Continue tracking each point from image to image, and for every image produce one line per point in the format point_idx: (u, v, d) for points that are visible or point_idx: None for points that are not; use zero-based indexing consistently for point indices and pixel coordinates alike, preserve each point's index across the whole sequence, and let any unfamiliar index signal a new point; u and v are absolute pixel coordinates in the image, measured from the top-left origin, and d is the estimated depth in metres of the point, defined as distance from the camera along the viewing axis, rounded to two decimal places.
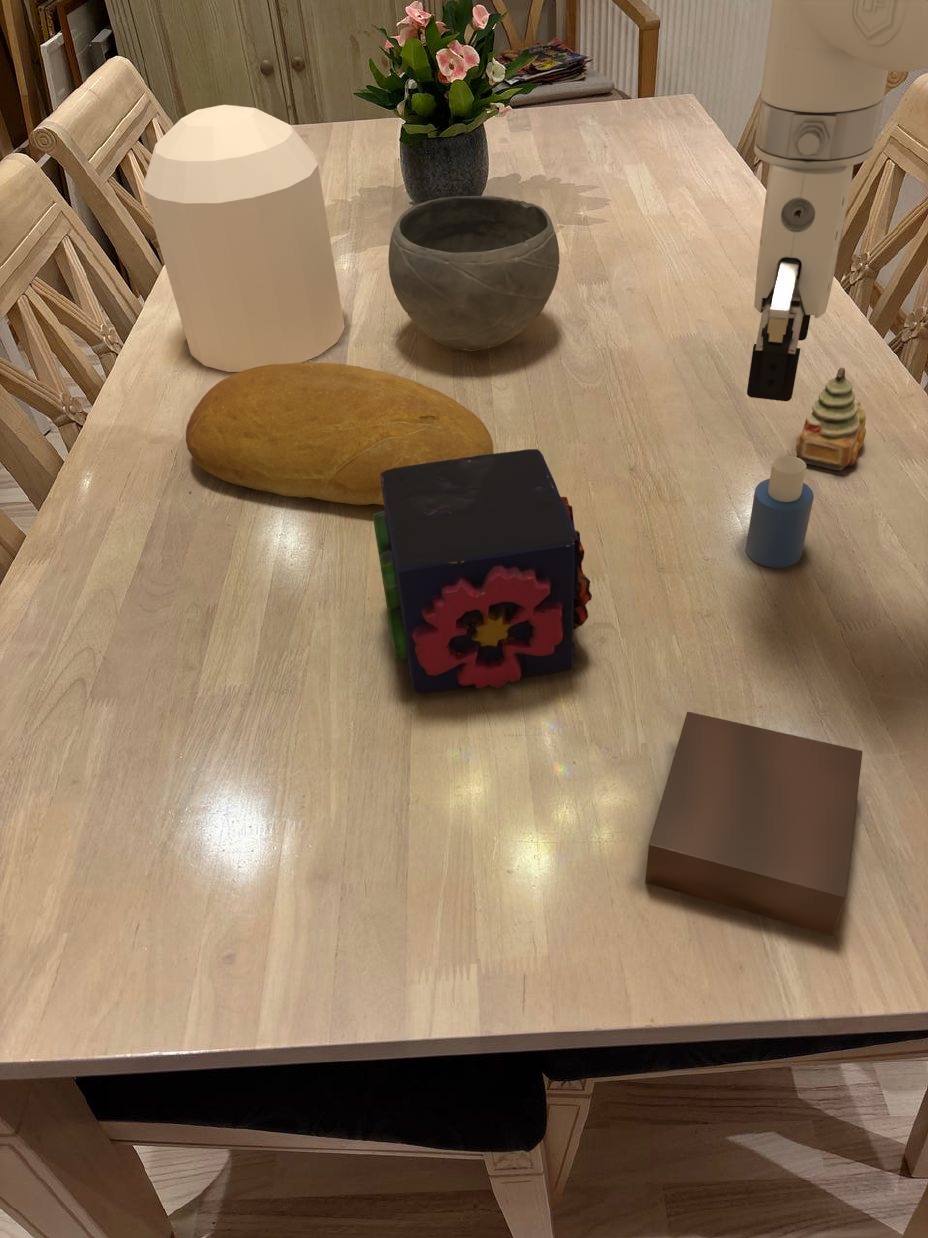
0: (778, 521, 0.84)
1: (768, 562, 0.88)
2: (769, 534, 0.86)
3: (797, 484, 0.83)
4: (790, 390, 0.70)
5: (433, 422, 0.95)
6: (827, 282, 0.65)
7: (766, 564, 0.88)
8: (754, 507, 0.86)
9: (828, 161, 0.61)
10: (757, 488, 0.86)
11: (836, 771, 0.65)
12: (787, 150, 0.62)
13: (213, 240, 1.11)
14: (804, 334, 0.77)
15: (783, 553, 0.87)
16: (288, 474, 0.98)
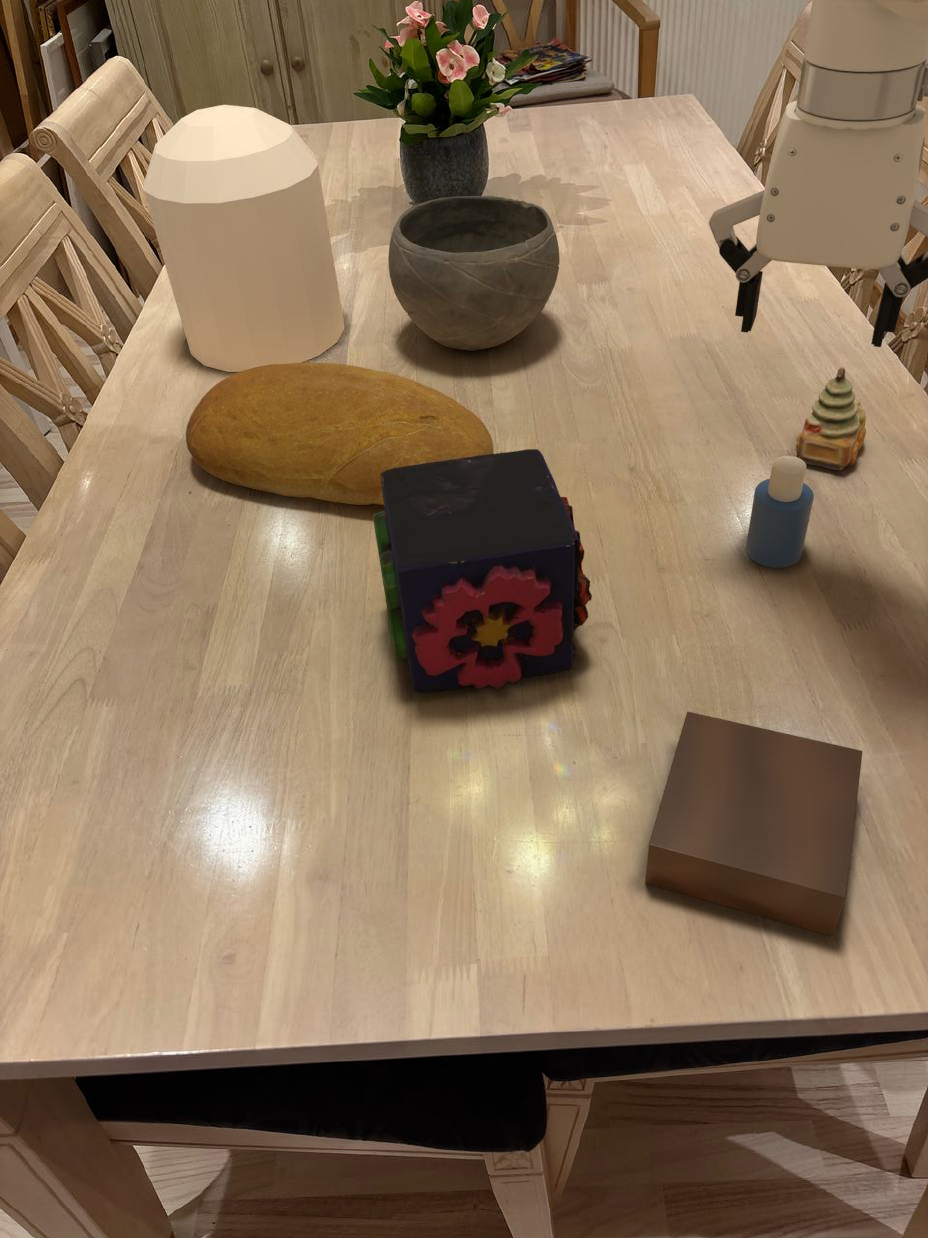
0: (778, 521, 0.84)
1: (768, 562, 0.88)
2: (769, 534, 0.86)
3: (797, 484, 0.83)
4: None
5: (433, 422, 0.95)
6: None
7: (766, 564, 0.88)
8: (754, 507, 0.86)
9: None
10: (757, 488, 0.86)
11: (836, 771, 0.65)
12: (914, 103, 0.62)
13: (213, 240, 1.11)
14: (756, 310, 0.77)
15: (783, 553, 0.87)
16: (288, 474, 0.98)
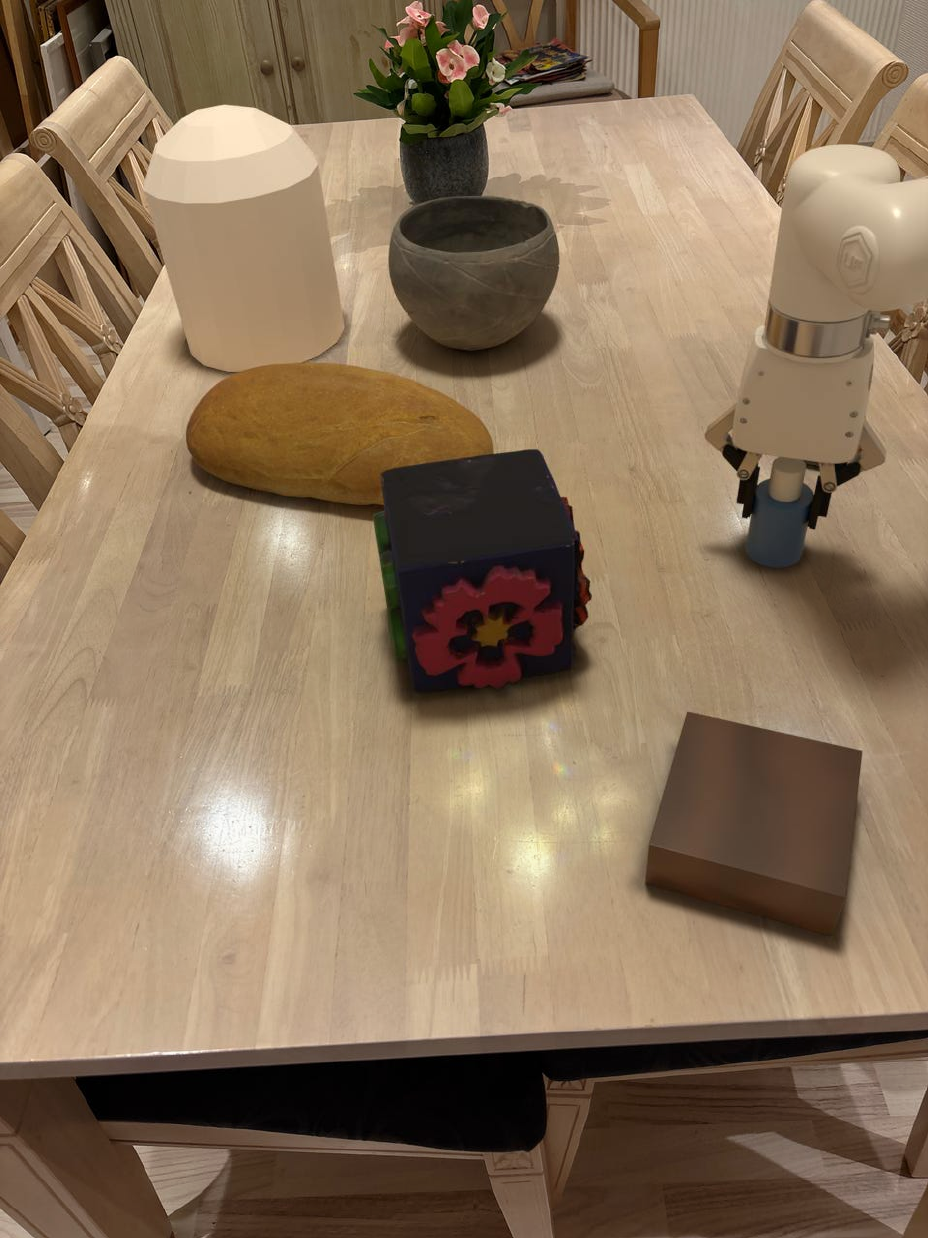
0: (778, 521, 0.84)
1: (768, 562, 0.88)
2: (769, 534, 0.86)
3: (797, 484, 0.83)
4: None
5: (433, 422, 0.95)
6: None
7: (766, 564, 0.88)
8: (754, 507, 0.86)
9: None
10: (757, 488, 0.86)
11: (836, 771, 0.65)
12: (862, 341, 0.73)
13: (213, 240, 1.11)
14: None
15: (783, 553, 0.87)
16: (288, 474, 0.98)
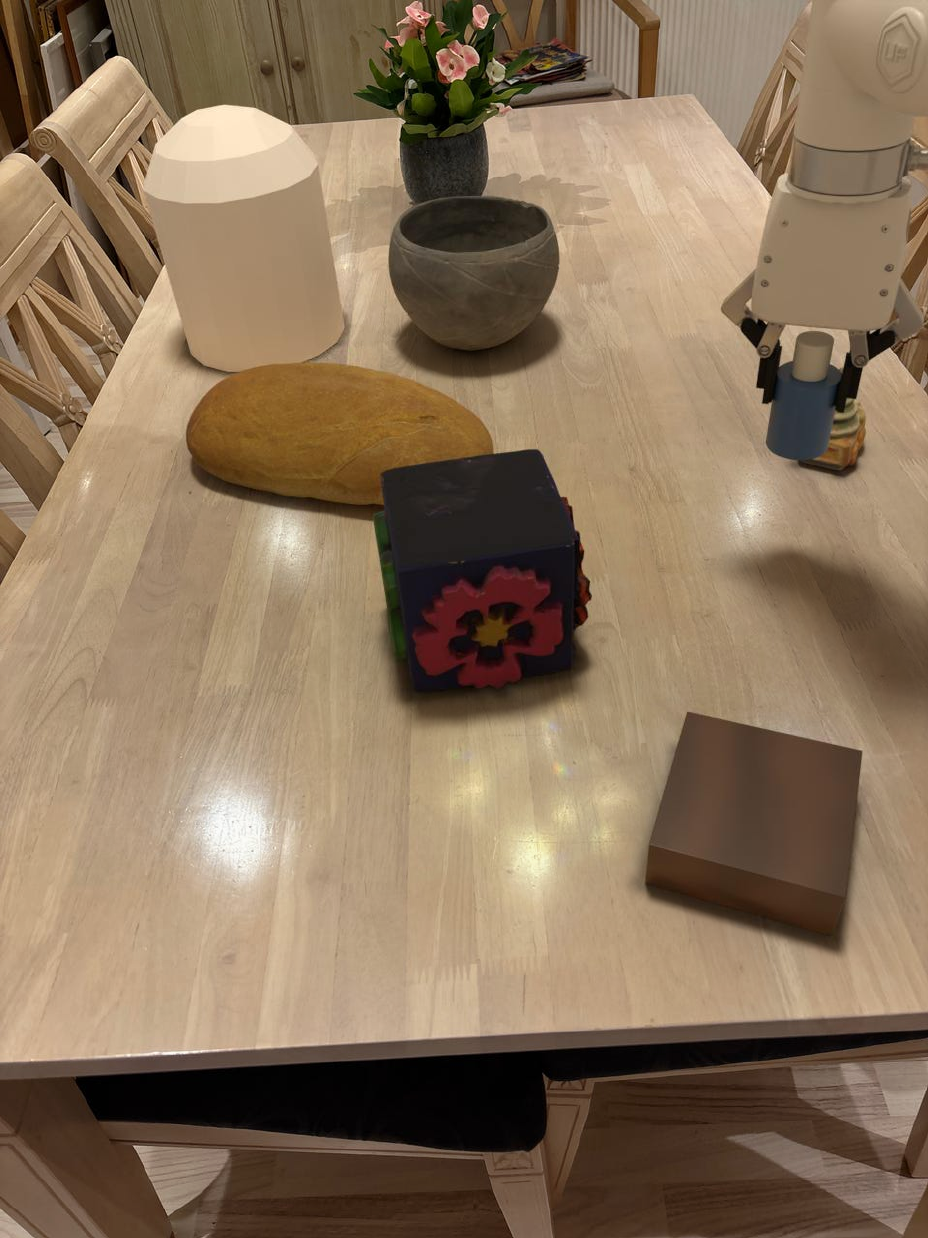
0: (802, 403, 0.76)
1: (791, 454, 0.79)
2: (793, 419, 0.77)
3: (824, 360, 0.75)
4: None
5: (433, 422, 0.95)
6: None
7: (789, 456, 0.80)
8: (776, 391, 0.78)
9: None
10: (779, 370, 0.78)
11: (836, 771, 0.65)
12: (899, 177, 0.65)
13: (213, 240, 1.11)
14: None
15: (807, 442, 0.78)
16: (288, 474, 0.98)
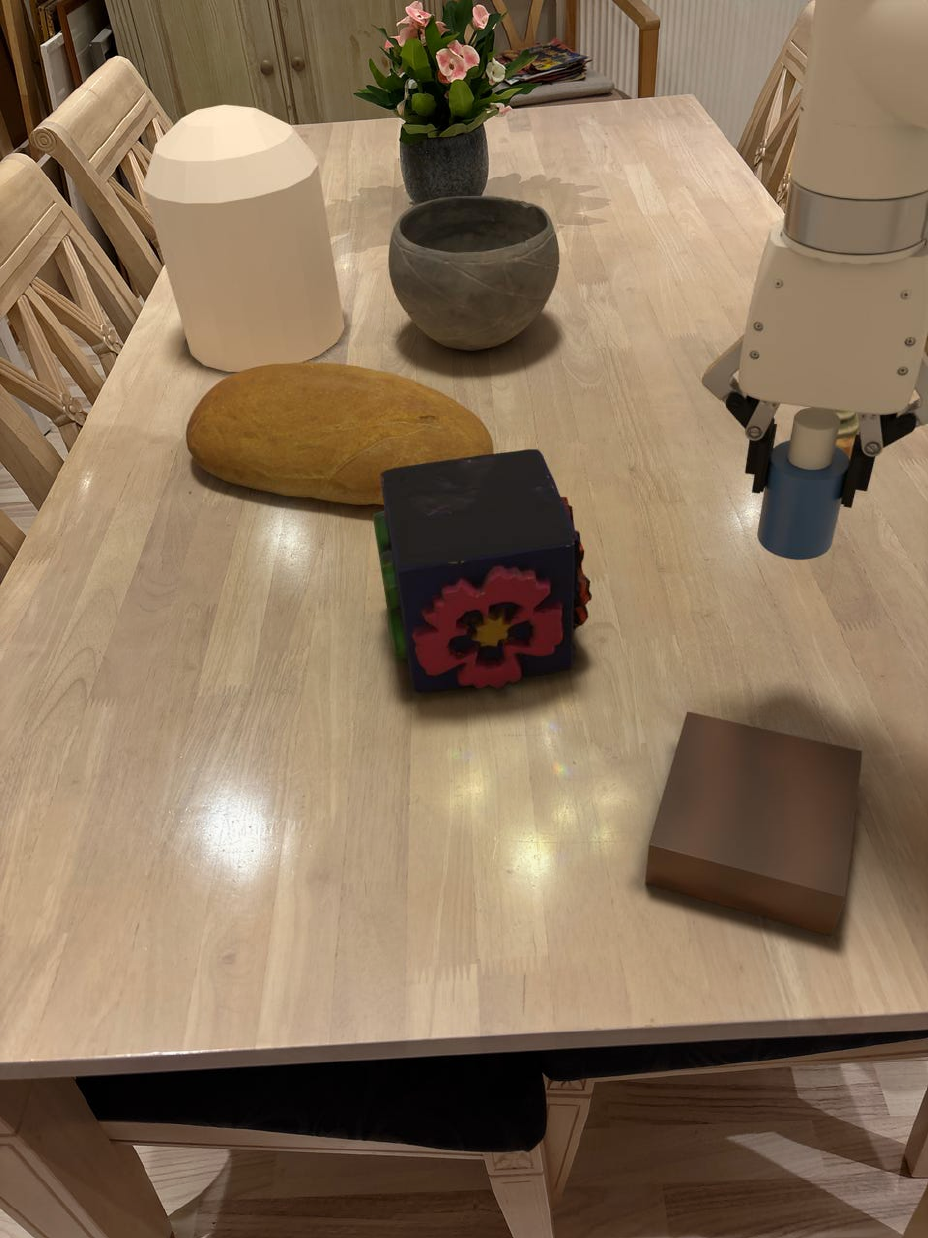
0: (801, 495, 0.62)
1: (787, 552, 0.66)
2: (789, 513, 0.64)
3: (828, 446, 0.61)
4: None
5: (433, 422, 0.95)
6: None
7: (785, 555, 0.66)
8: (769, 478, 0.64)
9: None
10: (773, 452, 0.64)
11: (836, 771, 0.65)
12: (925, 231, 0.51)
13: (213, 240, 1.11)
14: None
15: (807, 540, 0.65)
16: (288, 474, 0.98)
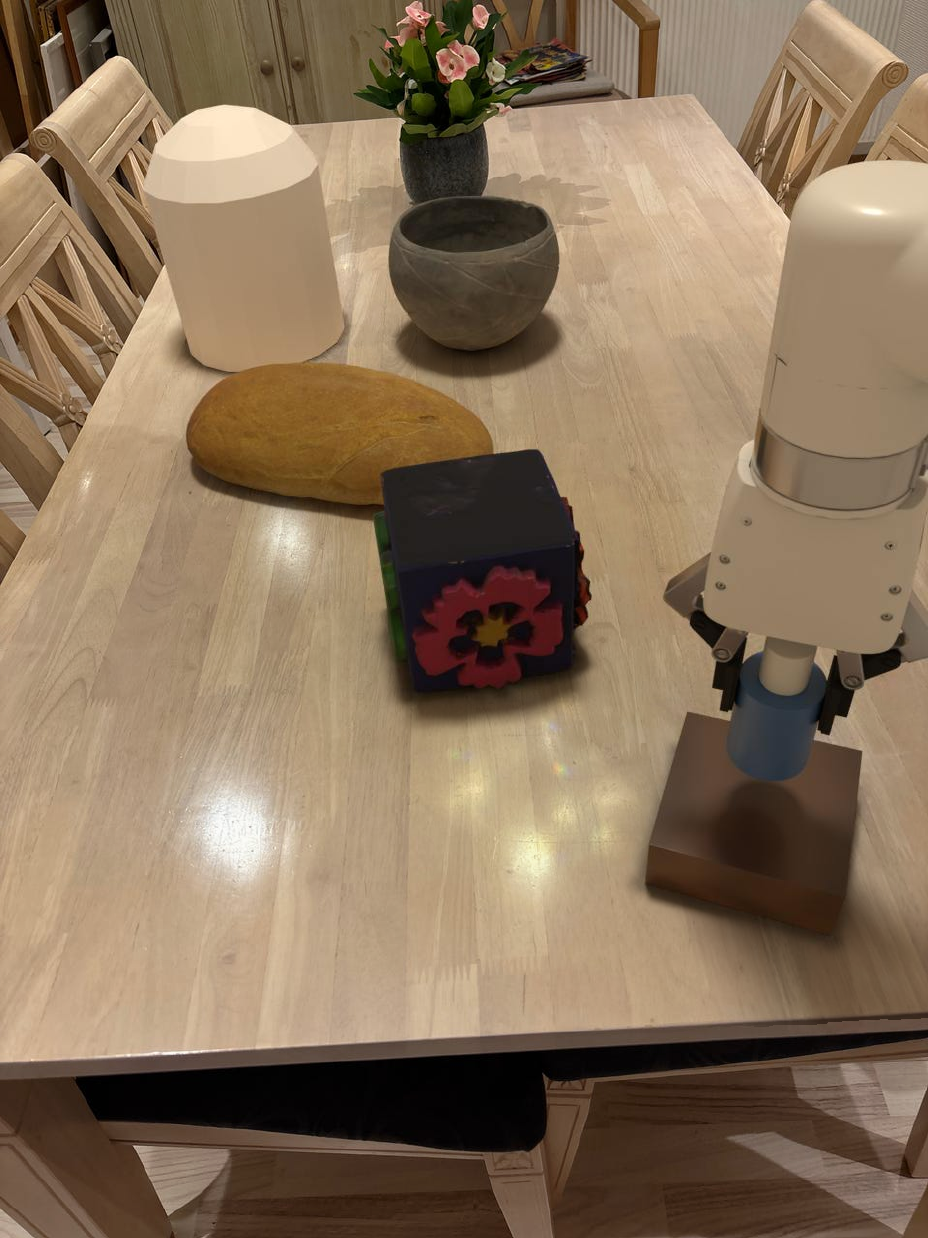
0: (773, 723, 0.56)
1: (759, 774, 0.59)
2: (760, 738, 0.57)
3: (803, 673, 0.55)
4: None
5: (433, 422, 0.95)
6: None
7: (756, 776, 0.59)
8: (738, 697, 0.58)
9: None
10: (743, 669, 0.58)
11: (836, 771, 0.65)
12: (912, 482, 0.44)
13: (212, 240, 1.11)
14: None
15: (780, 764, 0.58)
16: (288, 473, 0.98)
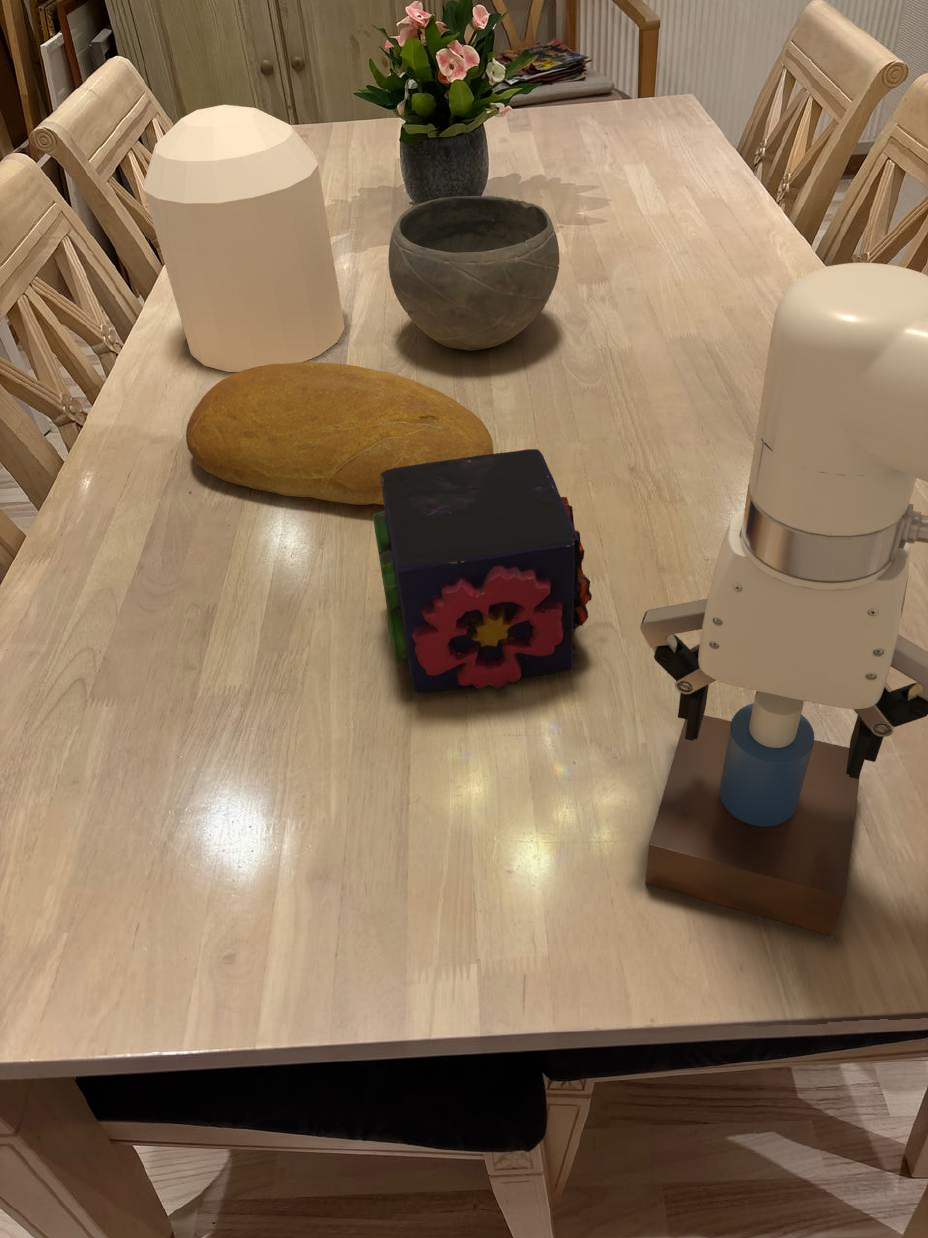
0: (763, 774, 0.59)
1: (750, 819, 0.62)
2: (751, 787, 0.60)
3: (790, 728, 0.58)
4: None
5: (433, 422, 0.95)
6: None
7: (747, 821, 0.62)
8: (730, 748, 0.61)
9: None
10: (734, 721, 0.61)
11: (836, 771, 0.65)
12: (892, 555, 0.47)
13: (213, 240, 1.11)
14: None
15: (770, 810, 0.61)
16: (288, 473, 0.98)
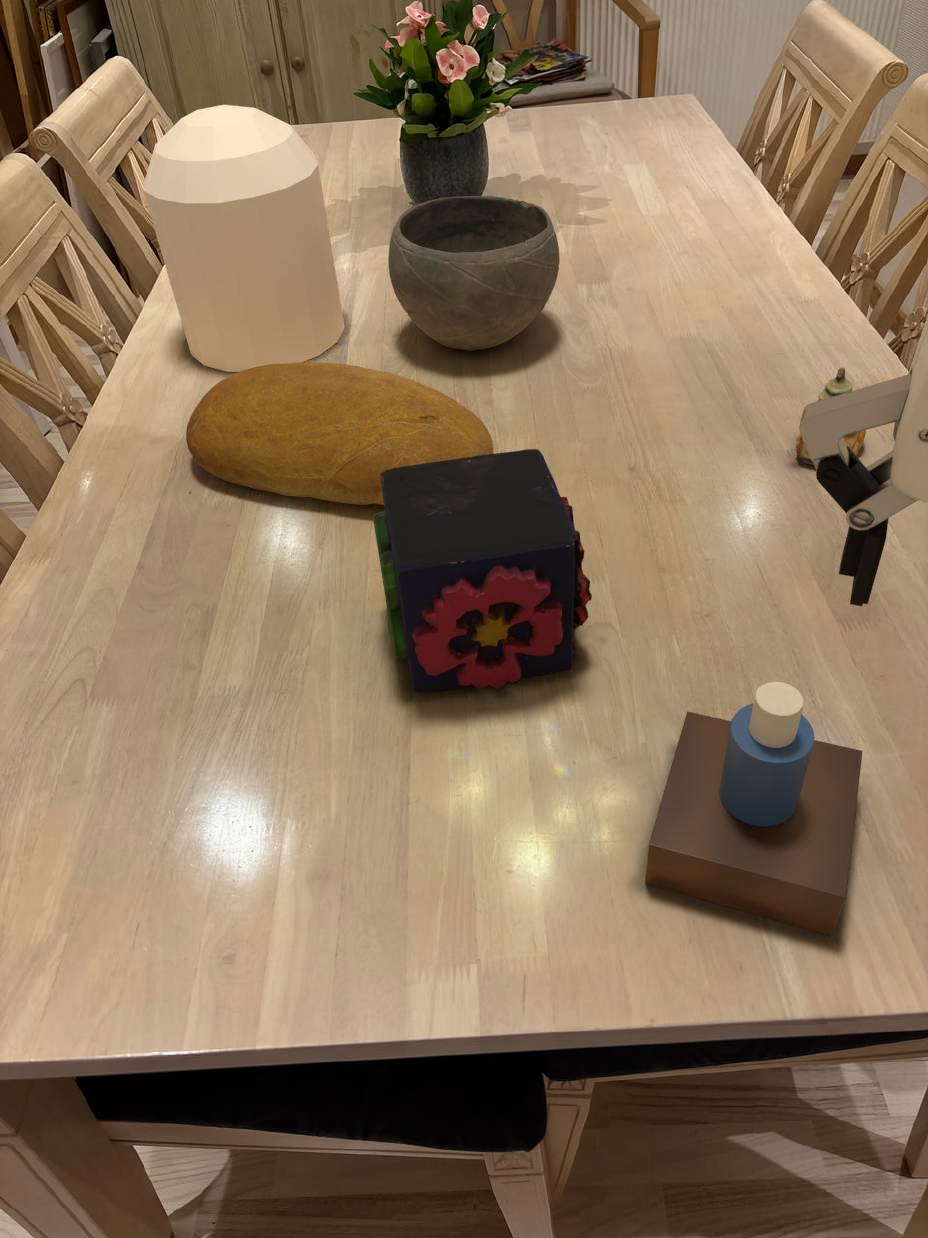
0: (763, 774, 0.59)
1: (750, 819, 0.62)
2: (751, 787, 0.60)
3: (790, 728, 0.58)
4: None
5: (433, 422, 0.95)
6: None
7: (747, 821, 0.62)
8: (730, 748, 0.61)
9: None
10: (734, 721, 0.61)
11: (836, 771, 0.65)
12: None
13: (213, 240, 1.11)
14: None
15: (770, 810, 0.61)
16: (288, 473, 0.98)
